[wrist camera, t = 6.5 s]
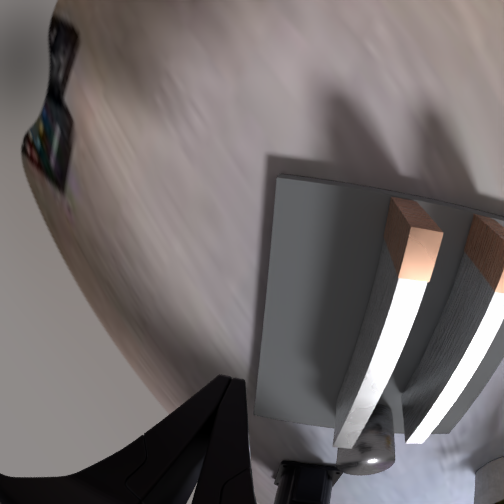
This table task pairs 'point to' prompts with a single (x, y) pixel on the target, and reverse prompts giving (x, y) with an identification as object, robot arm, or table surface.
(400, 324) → the tongs hinged arm
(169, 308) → the table surface
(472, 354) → the arm
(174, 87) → the table surface
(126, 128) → the table surface
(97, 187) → the table surface
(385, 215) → the charcoal mat
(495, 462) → the house plant
